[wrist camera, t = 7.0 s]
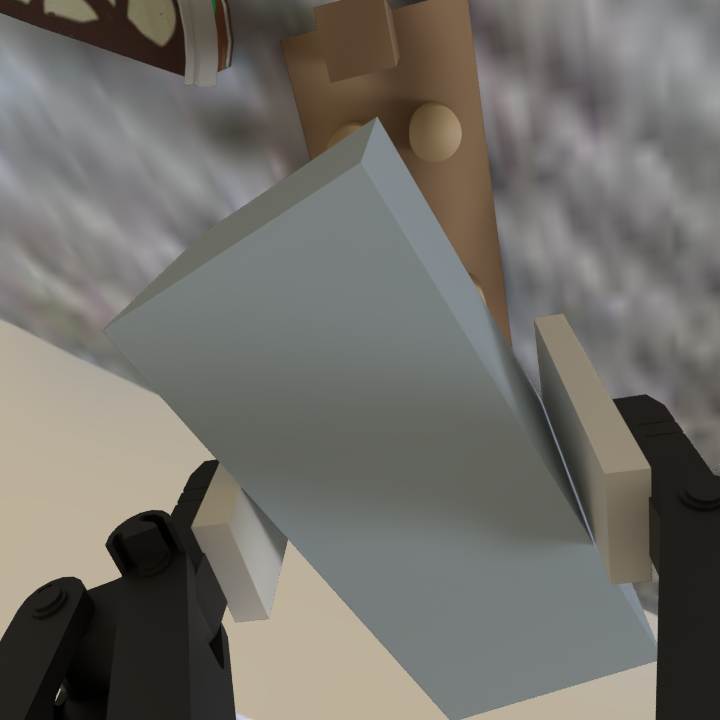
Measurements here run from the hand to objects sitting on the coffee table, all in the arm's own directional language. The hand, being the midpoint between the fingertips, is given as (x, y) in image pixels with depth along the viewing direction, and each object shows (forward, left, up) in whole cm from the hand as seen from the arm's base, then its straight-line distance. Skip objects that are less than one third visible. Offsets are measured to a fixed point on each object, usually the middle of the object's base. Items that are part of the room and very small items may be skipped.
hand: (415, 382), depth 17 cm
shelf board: (0, 0, -1) cm, 1 cm away
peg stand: (0, 0, -19) cm, 19 cm away
